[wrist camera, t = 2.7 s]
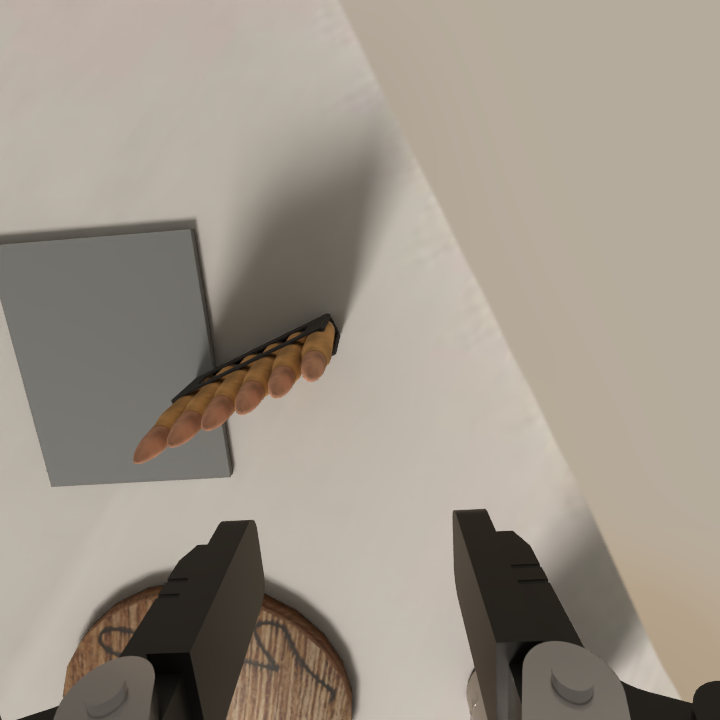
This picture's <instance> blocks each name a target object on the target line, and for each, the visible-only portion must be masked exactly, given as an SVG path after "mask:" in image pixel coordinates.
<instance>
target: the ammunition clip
mask: <svg viewBox="0 0 720 720" xmlns="http://www.w3.org/2000/svg"><path fill="white" fill-rule="evenodd" d="M339 339H340V334H339V332H338V330H337V328H336V326H335V324H334V322H333V320H332V318H331V316H330V314H325V315H323V316H321V317H319V318H317V319H315V320H313V321H311V322H309V323H307V324H305V325H303V326H301V327H299V328H297V329H295V330H293V331H291V332H288V333H286V334H284V335H282V336H280V337H278V338H276V339H274V340H272V341H270V342H268V343H266V344H264V345H262V346H260V347H258V348H256V349H254V350H252V351H250V352H248V353H246V354H244V355H242V356H240V357H238V358H236V359H234V360H231V361H229V362H227V363H225V364H223V365H221V366H219V367H217V368H215V369H213V370H211V371H209V372H207V373H205V374H203V375H201V376H199V377H197V378H195V379H194V380H193V381H192V382H191V383H190V384H189V385H187V386H186V387H185V388H184V389H183V390H182V391H181V392H180V393H179V394H177V395H176V396H175V397H174V398H173V399H172V400H171V402H172V405H171V406H170V407H169V408H168V409H167V410H166V411H165V412H164V413H163V414H162V415H161V416H160V417H159V418H158V420H157V422H156V424H155V425H154V426H153V427H152V428H151V429H150V431H149V432H148V433H147V434H146V435H145V436H144V437H143V439H142V440H141V441H140V443H139V444H138V446H137V448H136V450H135V452H134V455H133V463H134V464H141V463H145V462H147V461H149V460H151V459H153V458H154V457H156V456H157V455H159V454H160V453H161V452H163V451H164V450H165V449H166V448H167V446H168V447H170V448H174V447H178V446H180V445H182V444H184V443H186V442H188V441H189V440H190V439H191V438H193V437H194V436H195V435H196V434H197V433H198V431H200V430H201V429H203V430H204V431H211V430H213V429H216V428H218V427H219V426H221V425H222V424H223V423H224V422H225V421H226V420H227V419H228V418H229V417H230V416H231V415H232V414H233V413H234V411H236V412H237V413H238V414H240V415H244V414H247V413H249V412H251V411H252V410H254V409H255V408H256V407H257V406H258V405H259V403H260V402H261V400H262V399H263V398H264V397H265V396H267V395H268V394H270V395H271V396H272V397H273V398H280V397H282V396H284V395H285V394H287V393H288V391H289V390H290V389H291V388H292V386H293V384H294V383H295V382H296V381H297V380H298V379H299V378H300V376H301V374H302V375H303V377H304V378H305V379H306V380H307V381H309V382H313V381H316V380H318V379H319V378H320V377H321V376H322V374H323V373H324V370H325V368H326V366H327V365H328V364H329V362H330V360H331V356H333V355H335V354H336V352H337V348H338V343H339Z"/></svg>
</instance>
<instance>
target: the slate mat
mask: <svg viewBox="0 0 720 720" xmlns="http://www.w3.org/2000/svg"><path fill="white" fill-rule="evenodd" d="M0 299H1V303H2V307H3V310H4V314H5V318H6V321H7V325H8V329H9V332H10V336H11V340H12V343H13V347H14V351H15V354H16V358H17V362H18V365H19V369H20V373H21V376H22V380H23V384H24V387H25V391H26V395H27V398H28V402H29V406H30V409H31V413H32V417H33V421H34V424H35V428H36V432H37V435H38V439H39V443H40V446H41V450H42V454H43V457H44V461H45V465H46V468H47V472H48V476H49V479H50V483H51V487H57V486H75V485H94V484H112V483H131V482H150V481H168V480H187V479H205V478H224V477H231V475H232V474H233V471H232V465H231V459H230V453H229V446H228V440H227V434H226V428H225V422H224V423H223V424H222V425H221V426H219V427H218V428H216V429H213V430H211V431H204V430H203V429H201V430H200V431H198V433H197V434H196V435H195V436H194V437H193V438H191V439H190V440H189V441H188V442H186V443H184V444H182V445H180V446H178V447H174V448H170V447H168V446H167V448H166V449H165V450H164V451H163V452H161V453H160V454H159V455H157V456H156V457H154V458H153V459H151V460H149V461H147V462H145V463H141V464H134V463H133V455H134V452H135V450H136V448H137V446H138V444H139V443H140V441H141V440H142V439H143V437H144V436H145V435H146V434H147V433H148V432H149V431H150V429H151V428H152V427H153V426H154V425H155V424H156V422H157V420H158V418H159V417H160V416H161V415H162V414H163V413H164V412H165V411H166V410H167V409H168V408H169V407H170V406H171V405H172V402H171V400H172V399H173V398H174V397H175V396H176V395H177V394H179V393H180V392H181V391H182V390H183V389H184V388H185V387H186V386H187V385H189V384H190V383H191V382H192V381H193V380H194V379H195V378H197V377H199V376H201V375H203V374H205V373H207V372H209V371H211V370H213V369H215V368H216V365H215V359H214V353H213V346H212V340H211V334H210V327H209V321H208V315H207V309H206V302H205V296H204V290H203V284H202V277H201V271H200V265H199V259H198V252H197V246H196V240H195V234H194V229H186V230H173V231H161V232H149V233H136V234H124V235H112V236H99V237H87V238H75V239H63V240H50V241H38V242H26V243H13V244H1V245H0Z"/></svg>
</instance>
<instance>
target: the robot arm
mask: <svg viewBox="0 0 720 720" xmlns="http://www.w3.org/2000/svg"><path fill="white" fill-rule="evenodd" d="M453 551H454V575H455V584H456V590H457V596H458V600H459V604H460V608H461V612H462V617H463V621H464V625H465V629H466V633H467V637H468V641H469V645H470V649H471V654H472V658H473V662H474V666H475V671H474V673H473V674H472V676H471V678H470V680H469V683H468V686H467V700H468V705H469V710H470V718H471V720H720V681H713V682H708V683H706V684H704V685H702V686H700V687H699V688H698V689H697V690H696V692H695V694H694V698H693V703H689V702H685V701H681V700H677V699H674V698H670V697H666V696H662V695H658V694H654V693H651V692H647V691H644V690H641V689H637V688H635V687H633V686H630V685H628V684H626V683H624V682H622V681H620V680H619V678H618V676H617V675H616V674H615V672H614V671H613V670H612V669H611V668H610V666H609V665H608V664H607V663H606V662H604V661H603V660H602V659H601V658H600V657H598V656H597V655H595V654H594V653H592V652H591V651H589V650H587V649H585V648H584V646H583V645H582V643H581V641H580V639H579V637H578V635H577V633H576V631H575V629H574V628H573V626H572V624H571V622H570V620H569V618H568V616H567V614H566V613H565V611H564V609H563V607H562V605H561V603H560V601H559V599H558V597H557V596H556V594H555V592H554V590H553V588H552V586H551V584H550V583H548V579H547V577H546V575H545V573H544V571H543V569H542V567H540V563H539V562H538V560H537V558H536V556H535V554H534V552H533V550H532V548H531V546H530V545H529V544H528V543H526V542H525V541H524V540H523V539H522V538H521V537H519V536H518V535H517V534H516V533H515V532H513V531H497V532H496V530H495V528H494V526H493V524H492V521H491V519H490V517H489V514H488V512H487V510H486V509H474V510H454V511H453ZM263 596H264V572H263V565H262V559H261V552H260V545H259V539H258V532H257V526H256V523H255V521H254V520H241V521H222V522H221V523H220V524H219V525H218V527H217V529H216V531H215V532H214V534H213V536H212V538H211V539H210V541H209V543H208V545H197V546H196V547H195V548H194V549H192V550H191V551H190V552H189V553H188V554H187V555H185V556H184V557H183V558H182V559H181V560H180V561H179V562H178V564H177V565H176V567H175V568H174V570H173V572H172V573H171V575H170V576H169V578H168V582H167V583H165V584H164V586H163V588H162V589H161V591H160V592H159V594H158V598H156V599H155V600H154V602H153V604H152V605H151V607H150V608H149V610H148V612H147V613H146V615H145V616H144V618H143V620H142V621H141V623H140V624H139V626H138V628H137V629H136V631H135V632H134V634H133V636H132V637H131V639H130V640H129V642H128V644H127V645H126V647H125V648H124V650H123V652H122V653H121V655H120V656H119V658H116V659H113V660H111V661H108V662H106V663H104V664H102V665H100V666H98V667H96V668H95V669H93V670H92V671H90V672H89V673H87V674H86V675H85V676H83V677H82V678H81V679H80V680H79V681H78V682H77V683H76V684H75V685H74V686H73V687H72V688H71V689H70V690H69V691H68V693H67V694H66V695H65V696H64V698H63V700H62V701H61V703H60V705H59V706H57V707H54V708H51V709H48V710H45V711H42V712H39V713H36V714H33V715H30V716H27V717H24V718H21V719H17V720H226V717H227V714H228V711H229V707H230V704H231V701H232V698H233V695H234V691H235V688H236V685H237V682H238V679H239V676H240V672H241V669H242V666H243V663H244V660H245V657H246V653H247V650H248V647H249V644H250V641H251V637H252V634H253V631H254V628H255V625H256V622H257V618H258V615H259V612H260V609H261V606H262V602H263ZM0 720H2V719H1V717H0Z"/></svg>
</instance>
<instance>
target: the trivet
mask: <svg viewBox="0 0 720 720" xmlns="http://www.w3.org/2000/svg"><path fill="white" fill-rule="evenodd" d="M163 586H164V585H161V586H156V587H151V588H147V589H145V590H143V591H141V592H139V593H137V594H135V595H132V596H130V597H128V598H126V599H124V600H122V601H120V602H118V603H116V604H115V605H114V606H113V607H112V608H111V609H110V610H109V611H108V612H106V613H105V614H104V615H103V616H102V617H101V618H100V619H99V620H98V621H97V622H96V623H94V624H93V626H92V627H91V628H90V630H89V631H88V632H87V634H86V635H85V636H84V638H83V639H82V641H81V642H80V644H79V646H78V648H77V650H76V652H75V653H74V655H73V657H72V659H71V661H70V662H69V664H68V666H67V672H66V679H65V685H64V692H63V698H64V696H65V695H66V694H67V693H68V691H69V690H70V689H71V688H72V687H73V686H74V685H75V684H76V683H77V682H78V681H79V680H80V679H81V678H82V677H83V676H85V675H86V674H87V673H89V672H90V671H92V670H93V669H95V668H96V667H98V666H100V665H102V664H104V663H106V662H108V661H111V660H113V659H116V658H119V656H120V655H121V653H122V652H123V650H124V648H125V647H126V645H127V644H128V642H129V640H130V639H131V637H132V636H133V634H134V632H135V631H136V629H137V628H138V626H139V624H140V623H141V621H142V620H143V618H144V616H145V615H146V613H147V612H148V610H149V608H150V607H151V605H152V604H153V602H154V600H155V599H156V598H158V594H159V592H160V591H161V589H162V588H163ZM226 720H352V689H351V685H350V682H349V679H348V676H347V673H346V670H345V666H344V663H343V661H342V659H341V658H340V656H339V655H338V654H337V652H336V651H335V649H334V648H333V646H332V645H331V643H330V642H329V640H328V639H327V637H326V636H325V635H324V633H322V632H321V631H320V630H319V629H318V628H317V627H315V626H314V625H313V624H312V623H311V622H310V621H308V620H307V619H306V618H305V617H304V616H303V615H302V614H300V613H299V612H298V611H297V610H295V609H293V608H291V607H289V606H287V605H285V604H284V603H282V602H280V601H278V600H276V599H274V598H272V597H270V596H268V595H266V594H264V596H263V602H262V606H261V609H260V612H259V615H258V618H257V622H256V625H255V628H254V631H253V634H252V637H251V641H250V644H249V647H248V650H247V653H246V657H245V660H244V663H243V666H242V669H241V672H240V676H239V679H238V682H237V685H236V688H235V691H234V695H233V698H232V701H231V704H230V707H229V711H228V714H227V717H226Z"/></svg>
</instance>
